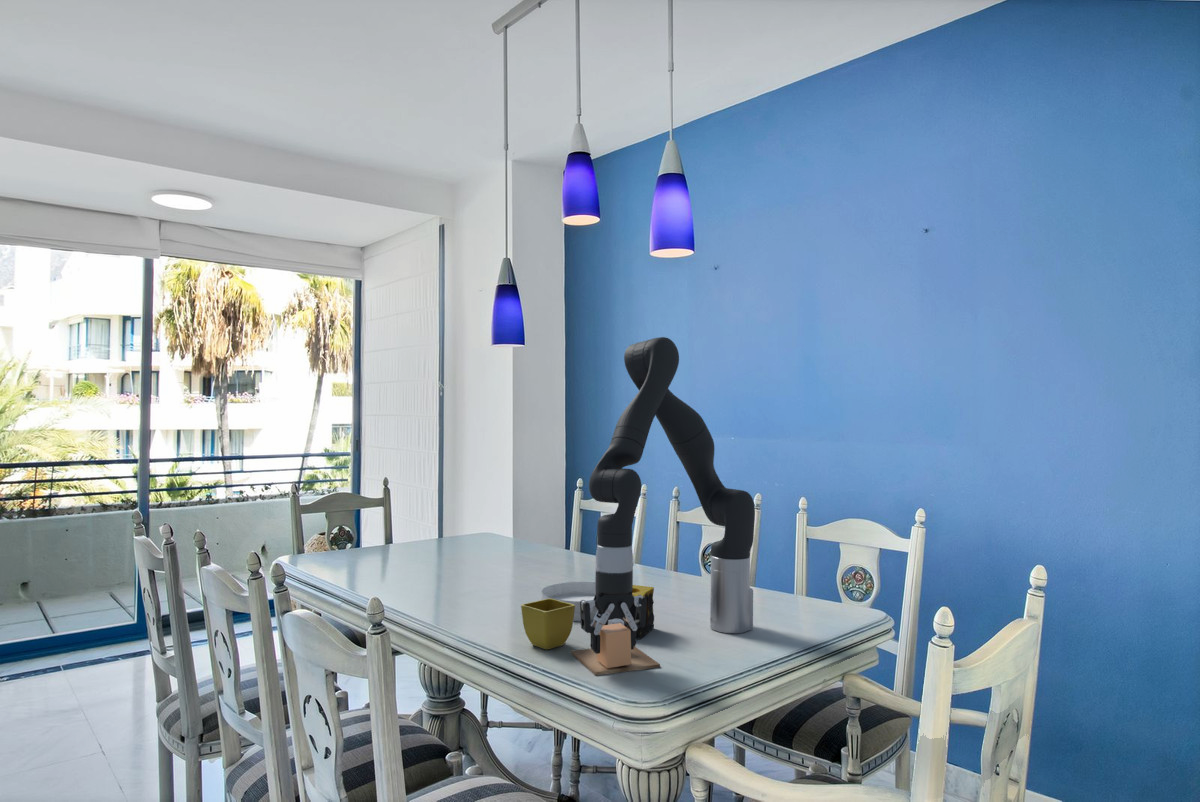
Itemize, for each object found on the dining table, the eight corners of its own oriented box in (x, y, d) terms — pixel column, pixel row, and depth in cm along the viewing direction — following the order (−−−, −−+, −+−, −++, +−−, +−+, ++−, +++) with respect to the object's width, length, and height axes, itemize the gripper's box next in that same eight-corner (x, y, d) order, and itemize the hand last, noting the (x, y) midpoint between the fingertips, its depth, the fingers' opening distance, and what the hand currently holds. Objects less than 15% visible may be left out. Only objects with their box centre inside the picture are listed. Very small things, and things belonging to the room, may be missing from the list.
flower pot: (519, 645, 163) (519, 603, 163) (549, 637, 169) (550, 597, 169) (545, 654, 157) (545, 611, 157) (575, 646, 163) (576, 604, 163)
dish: (617, 624, 181) (617, 604, 181) (529, 619, 185) (529, 598, 185) (631, 602, 202) (631, 584, 203) (553, 597, 207) (553, 579, 207)
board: (631, 646, 163) (631, 644, 163) (660, 667, 150) (660, 664, 150) (571, 653, 158) (571, 650, 158) (595, 675, 145) (595, 672, 145)
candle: (615, 623, 181) (615, 582, 181) (654, 628, 177) (655, 586, 178) (599, 635, 172) (600, 591, 172) (641, 640, 168) (641, 595, 168)
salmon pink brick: (620, 656, 153) (620, 623, 153) (631, 664, 148) (630, 630, 148) (597, 660, 151) (596, 626, 151) (607, 668, 146) (606, 633, 146)
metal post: (619, 648, 160) (619, 618, 160) (623, 651, 157) (624, 621, 158) (607, 649, 159) (608, 619, 159) (612, 653, 156) (612, 622, 157)
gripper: (638, 561, 156) (638, 641, 155) (574, 566, 150) (573, 648, 150) (654, 568, 149) (653, 652, 149) (587, 573, 143) (586, 660, 143)
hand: (613, 650), depth 149 cm, fingers open, 6 cm apart
